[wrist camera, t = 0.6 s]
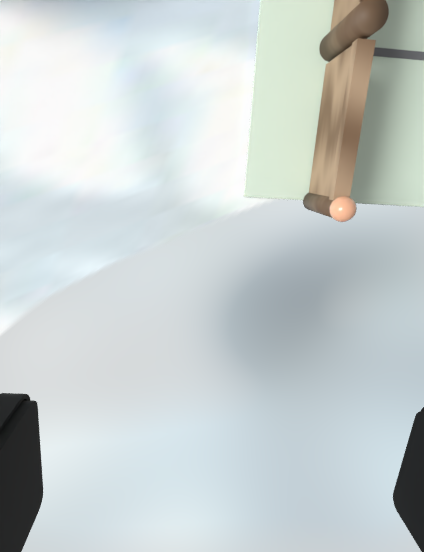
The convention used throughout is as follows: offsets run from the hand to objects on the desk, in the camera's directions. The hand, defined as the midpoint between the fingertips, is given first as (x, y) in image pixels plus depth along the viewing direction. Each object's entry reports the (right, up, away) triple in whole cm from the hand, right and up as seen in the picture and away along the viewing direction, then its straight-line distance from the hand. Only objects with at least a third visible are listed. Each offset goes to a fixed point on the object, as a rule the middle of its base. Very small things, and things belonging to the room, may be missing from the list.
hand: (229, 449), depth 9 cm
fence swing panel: (+9, +16, +22) cm, 28 cm away
